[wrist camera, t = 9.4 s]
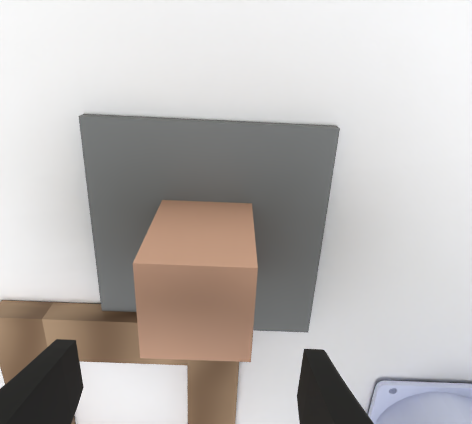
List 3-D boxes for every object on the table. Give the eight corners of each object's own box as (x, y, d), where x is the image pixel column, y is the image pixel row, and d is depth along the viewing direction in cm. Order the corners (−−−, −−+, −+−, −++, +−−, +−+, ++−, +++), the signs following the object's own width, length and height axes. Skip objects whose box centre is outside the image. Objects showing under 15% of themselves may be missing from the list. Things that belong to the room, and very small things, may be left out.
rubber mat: (336, 126, 18) (339, 128, 18) (306, 325, 23) (308, 332, 23) (83, 114, 18) (78, 116, 18) (106, 317, 23) (103, 324, 23)
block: (251, 203, 19) (257, 267, 14) (247, 278, 21) (250, 361, 16) (162, 200, 19) (132, 263, 14) (165, 275, 21) (140, 358, 16)
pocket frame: (241, 309, 23) (241, 326, 21) (231, 462, 29) (231, 484, 27) (2, 300, 23) (-13, 317, 21) (40, 456, 28) (30, 477, 27)
